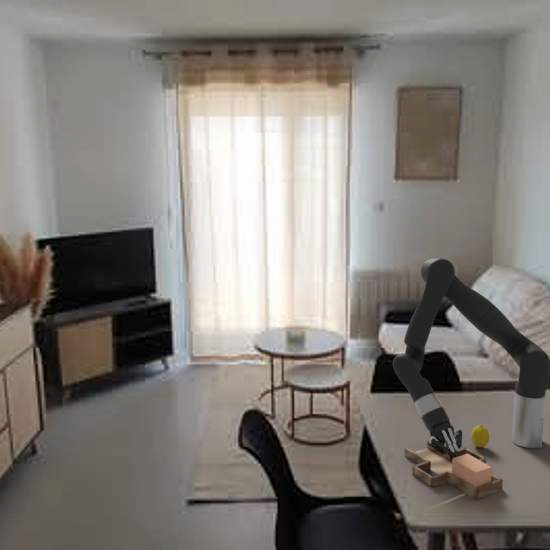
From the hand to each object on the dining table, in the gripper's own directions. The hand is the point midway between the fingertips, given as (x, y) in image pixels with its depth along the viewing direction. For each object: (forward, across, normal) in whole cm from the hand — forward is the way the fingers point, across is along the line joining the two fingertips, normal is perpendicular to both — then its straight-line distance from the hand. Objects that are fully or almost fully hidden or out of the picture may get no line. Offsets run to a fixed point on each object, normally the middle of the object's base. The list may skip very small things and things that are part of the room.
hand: (459, 465), depth 176 cm
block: (+6, -1, -1) cm, 6 cm away
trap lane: (0, 0, +6) cm, 6 cm away
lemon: (-4, +20, +10) cm, 22 cm away
